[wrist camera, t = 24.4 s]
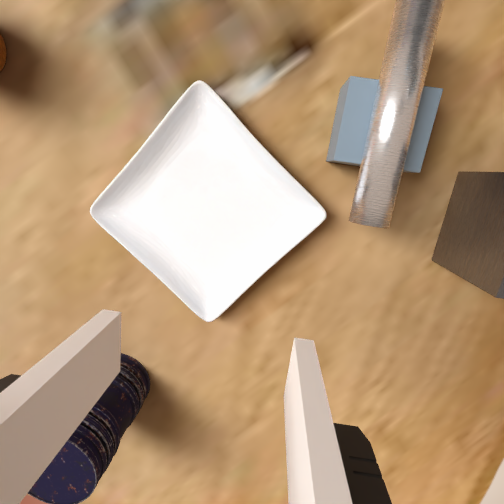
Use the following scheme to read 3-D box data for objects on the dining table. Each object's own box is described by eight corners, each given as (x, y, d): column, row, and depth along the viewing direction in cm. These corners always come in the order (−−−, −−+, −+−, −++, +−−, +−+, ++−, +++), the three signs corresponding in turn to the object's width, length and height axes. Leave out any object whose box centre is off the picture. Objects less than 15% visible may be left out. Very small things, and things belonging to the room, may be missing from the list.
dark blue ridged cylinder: (129, 342, 46) (63, 421, 32) (162, 394, 48) (114, 491, 34) (75, 365, 48) (-10, 451, 33) (110, 415, 50) (42, 515, 35)
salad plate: (98, 209, 42) (82, 213, 38) (204, 82, 37) (197, 73, 33) (213, 315, 44) (208, 327, 41) (326, 210, 39) (331, 214, 36)
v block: (340, 88, 35) (350, 76, 31) (420, 99, 35) (443, 88, 30) (326, 161, 38) (333, 160, 33) (401, 172, 37) (419, 172, 33)
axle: (388, 12, 30) (405, -14, 26) (430, 17, 30) (454, -7, 26) (344, 218, 34) (354, 223, 31) (381, 224, 34) (395, 229, 30)
